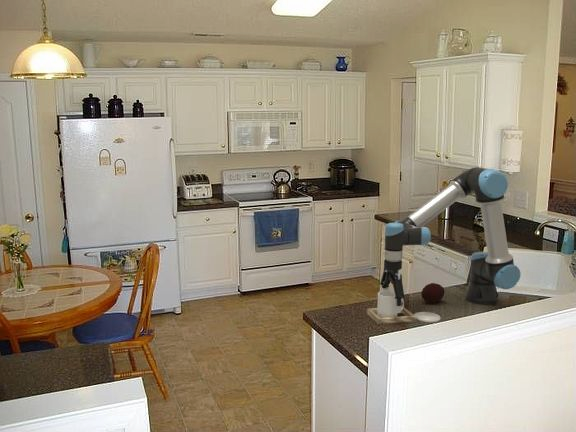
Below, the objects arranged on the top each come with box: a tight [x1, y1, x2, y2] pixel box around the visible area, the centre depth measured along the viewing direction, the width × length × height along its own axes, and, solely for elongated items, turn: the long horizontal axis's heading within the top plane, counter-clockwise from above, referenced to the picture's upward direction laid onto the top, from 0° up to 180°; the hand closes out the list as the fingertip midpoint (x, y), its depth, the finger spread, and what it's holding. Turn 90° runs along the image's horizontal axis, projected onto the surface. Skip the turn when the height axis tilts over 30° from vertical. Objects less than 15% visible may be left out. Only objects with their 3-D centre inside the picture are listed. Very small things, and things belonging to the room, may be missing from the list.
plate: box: [413, 311, 441, 324], centre depth 235 cm, size 11×11×1 cm
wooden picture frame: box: [366, 305, 417, 325], centre depth 236 cm, size 17×14×2 cm
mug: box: [376, 290, 405, 318], centre depth 235 cm, size 9×12×11 cm
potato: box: [421, 282, 446, 303], centre depth 255 cm, size 9×12×9 cm
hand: (391, 307), depth 235 cm, fingers open, 13 cm apart
